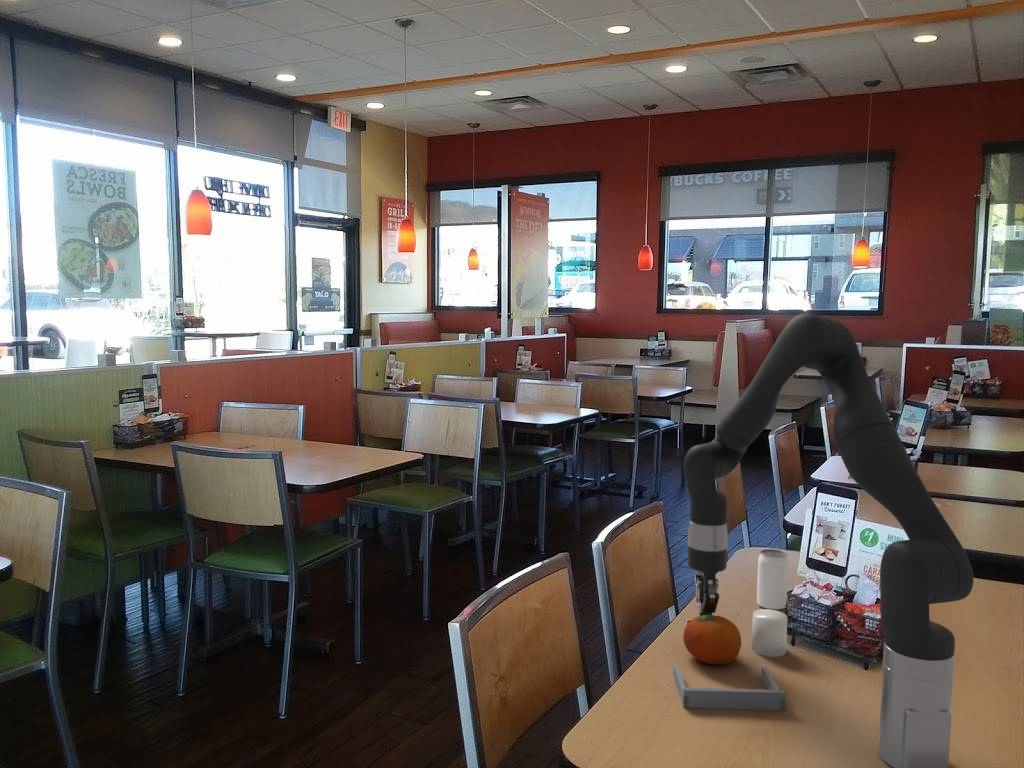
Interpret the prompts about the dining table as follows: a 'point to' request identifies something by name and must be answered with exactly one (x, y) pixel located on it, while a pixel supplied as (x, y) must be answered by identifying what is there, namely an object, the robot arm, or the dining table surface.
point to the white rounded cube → (769, 633)
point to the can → (772, 579)
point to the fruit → (712, 639)
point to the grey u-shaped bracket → (732, 695)
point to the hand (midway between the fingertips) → (705, 629)
